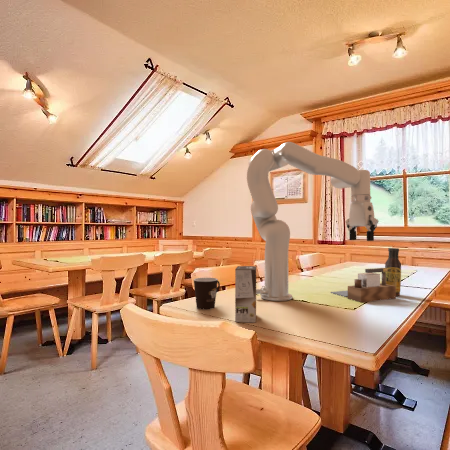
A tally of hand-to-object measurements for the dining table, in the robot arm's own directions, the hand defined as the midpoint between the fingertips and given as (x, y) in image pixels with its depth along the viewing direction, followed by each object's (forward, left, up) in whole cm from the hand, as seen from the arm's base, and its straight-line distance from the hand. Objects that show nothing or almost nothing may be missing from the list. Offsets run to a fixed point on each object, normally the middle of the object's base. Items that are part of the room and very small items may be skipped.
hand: (361, 240), depth 137 cm
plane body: (-1, -6, -23) cm, 24 cm away
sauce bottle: (+13, -4, -23) cm, 27 cm away
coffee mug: (-66, +5, -23) cm, 70 cm away
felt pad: (-3, +4, -23) cm, 24 cm away
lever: (+2, -6, -13) cm, 14 cm away
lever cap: (-2, -6, -18) cm, 19 cm away
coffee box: (-60, -13, -23) cm, 66 cm away
